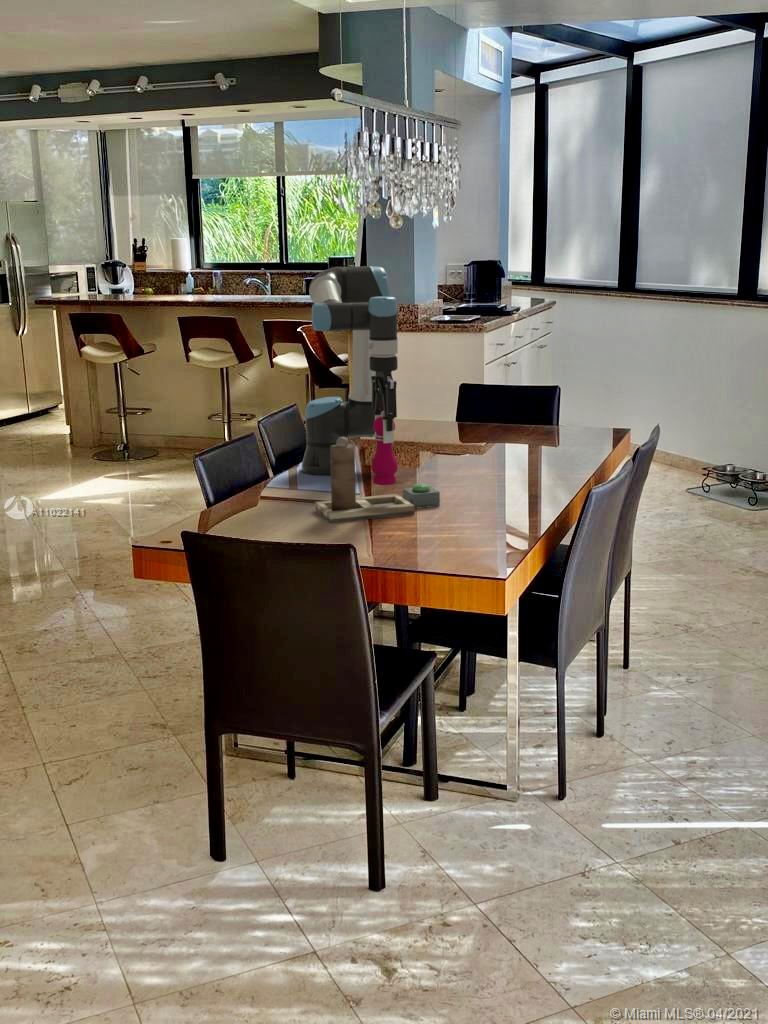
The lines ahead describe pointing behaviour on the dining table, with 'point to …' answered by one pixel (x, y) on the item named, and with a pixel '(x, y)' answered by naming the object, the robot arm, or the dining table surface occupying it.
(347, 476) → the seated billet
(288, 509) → the dining table surface
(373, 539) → the dining table surface
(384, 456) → the pepper mill
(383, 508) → the divided tray
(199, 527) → the dining table surface
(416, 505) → the button box
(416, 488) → the button
